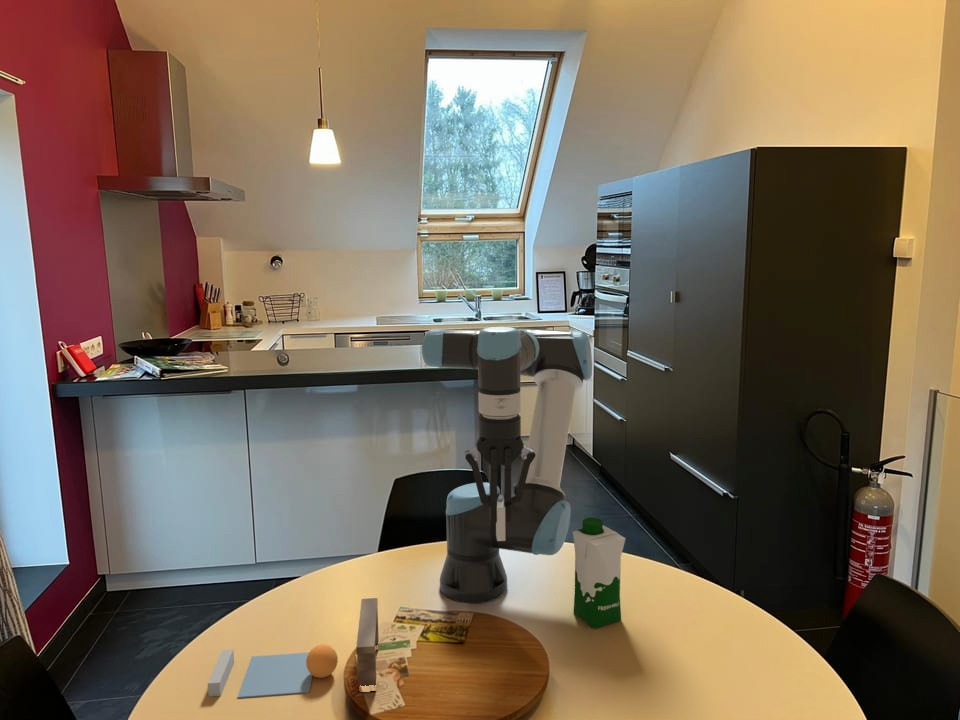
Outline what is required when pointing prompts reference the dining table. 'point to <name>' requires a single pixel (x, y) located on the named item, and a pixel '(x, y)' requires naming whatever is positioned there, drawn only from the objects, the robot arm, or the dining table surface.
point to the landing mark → (276, 675)
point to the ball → (321, 661)
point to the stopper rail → (221, 673)
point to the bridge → (367, 642)
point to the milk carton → (597, 573)
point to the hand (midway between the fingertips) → (500, 537)
